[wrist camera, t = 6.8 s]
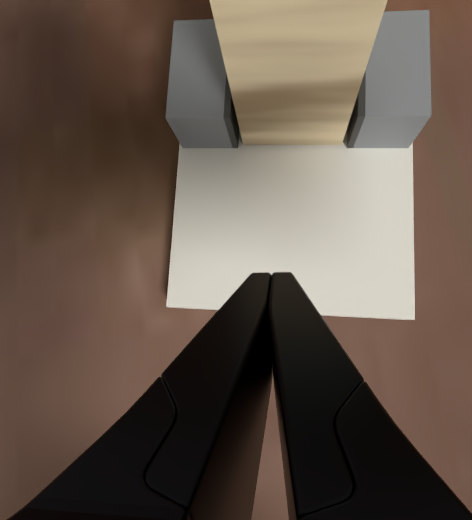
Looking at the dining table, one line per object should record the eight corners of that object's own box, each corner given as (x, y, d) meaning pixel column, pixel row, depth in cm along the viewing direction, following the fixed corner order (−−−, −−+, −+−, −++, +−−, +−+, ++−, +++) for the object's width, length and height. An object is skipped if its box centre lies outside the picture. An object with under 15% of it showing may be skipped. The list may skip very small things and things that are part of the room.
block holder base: (407, 320, 20) (440, 318, 16) (172, 307, 21) (144, 303, 17) (404, 71, 22) (433, 9, 18) (190, 76, 23) (170, 20, 19)
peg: (342, 145, 20) (407, -60, 9) (242, 145, 21) (197, -47, 10) (343, 54, 21) (405, -232, 10) (247, 57, 22) (210, -210, 11)
